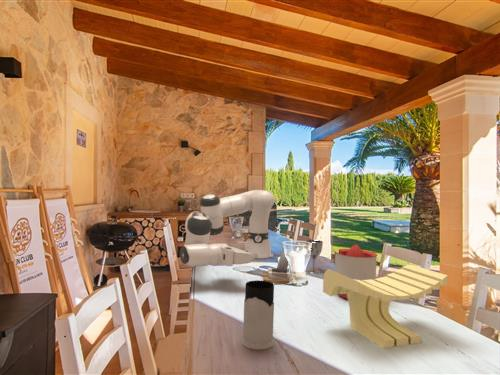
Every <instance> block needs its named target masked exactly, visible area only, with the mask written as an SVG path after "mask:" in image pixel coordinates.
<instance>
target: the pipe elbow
mask: <svg viewBox="0 0 500 375" xmlns="http://www.w3.org/2000/svg"><path fill="white" fill-rule="evenodd" d="M288 266H289V264H288V261H287V259H286V257H285V254H284V248H283V247H282V250H281V253H280V257H279V260H278V263H277V267H276V268H277V269H276V273H286V271H287V269H289V268H288Z"/></svg>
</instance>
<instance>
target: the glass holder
mask: <svg viewBox="0 0 500 375" xmlns="http://www.w3.org/2000/svg"><path fill="white" fill-rule="evenodd" d="M274 290H275V284H273V283H271V282H268V281H263V280H250V281H246V283H245V290H244V294H245V296H244V302H243V303H244V305H243V329H242V337H241V339H240V342H241V345H243V346H244V347H246V348H247V349H251V350H265V349H270V348H271V347H273V346H274V345H275V339H274V315H275V314H274V313H275V303H274V299H275V298H274V296H275V294H274V293H275V291H274Z"/></svg>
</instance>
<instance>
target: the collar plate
mask: <svg viewBox="0 0 500 375" xmlns="http://www.w3.org/2000/svg"><path fill="white" fill-rule="evenodd" d="M276 269H277V267H267V271H263V272H262V281H268V282H271V283H278V284H277V285H281V284H287V283H289V282H290V281H289V277H290V273H289V269H290V268H287V271H286V273H276Z"/></svg>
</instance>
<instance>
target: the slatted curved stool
mask: <svg viewBox="0 0 500 375" xmlns="http://www.w3.org/2000/svg"><path fill="white" fill-rule="evenodd" d="M448 278H449V277H448V275H447V274H444V273H441V272H439V271H438V272H437V271H433V270H431V269H427V268H423V267H420V266H417V265H414V264H408V265H402V267H401V268H400V269H396V270H394V271H393V272H390V273H387V274H386V275H385V276H382V277H378V278H377V277H376V279H374V280H372V279H370V280H361V281H360V280H355V279H351V278H349V277H346V276H344V275H342V274H340V273H337V272H335V270H333V269H330V268H329V269H326V270H325V271H324V274H323V281H322V282H323V283H322V284H323V285H322V292H323V293H324V294H326V295H328V296H330V297H334V296H337V295H339V294H346V293H347V298H348V299H347V301H348V306H349V322H350V327H351V328H352V329H353V330H355V331H356V332H357V333H359V334H361V335H362V336H363V337H365V338H367V339H368V340H370V341H371V342H373V343H374V344H375V345H377V346H379V347H380V348H381V349H387V348H393V347H401V346H405V345H407V346H408V345H409V344H411V345H414V344H420V343H422V340H421V337H420V335H418V334H417V333H415V332H413V331H412V330H409V329H408V328H407V327H405V326H403V325H401V324H400V323H399V322H397V320H395V319H394V318H393V317H392V315H391V314H390V310H389V307H390V303H391V301H396V300H398V301H403V300H410V299H423V298H424V297H425V296H424V295H430V294H433V293H432V292H433V291H435V290H436V291H437V290H440V288H441V287H440V286H442V287H446V286H448ZM338 293H339V294H338Z"/></svg>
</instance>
